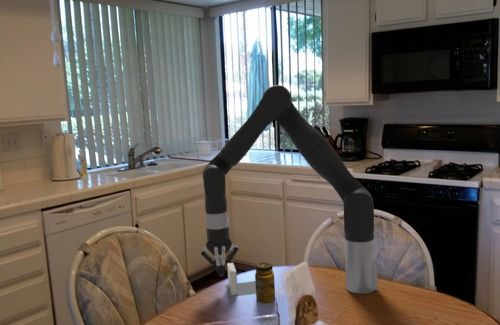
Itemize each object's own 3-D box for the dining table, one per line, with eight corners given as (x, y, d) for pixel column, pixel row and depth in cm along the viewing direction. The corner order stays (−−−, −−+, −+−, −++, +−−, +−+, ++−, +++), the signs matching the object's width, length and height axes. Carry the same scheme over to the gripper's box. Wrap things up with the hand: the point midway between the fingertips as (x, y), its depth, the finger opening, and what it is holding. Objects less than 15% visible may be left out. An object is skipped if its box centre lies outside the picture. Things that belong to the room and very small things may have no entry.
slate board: (262, 281, 162) (262, 280, 162) (268, 293, 152) (268, 291, 152) (225, 286, 160) (225, 284, 160) (229, 298, 150) (228, 296, 150)
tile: (234, 284, 159) (233, 262, 158) (238, 294, 152) (236, 271, 150) (228, 285, 159) (227, 263, 158) (231, 295, 151) (230, 272, 150)
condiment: (281, 301, 146) (279, 265, 144) (259, 309, 142) (256, 272, 140) (267, 294, 152) (265, 259, 150) (246, 301, 148) (243, 265, 146)
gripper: (235, 219, 156) (239, 268, 159) (196, 224, 154) (200, 273, 156) (239, 225, 149) (242, 277, 151) (197, 230, 147) (202, 282, 149)
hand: (221, 275), depth 154 cm, fingers closed
